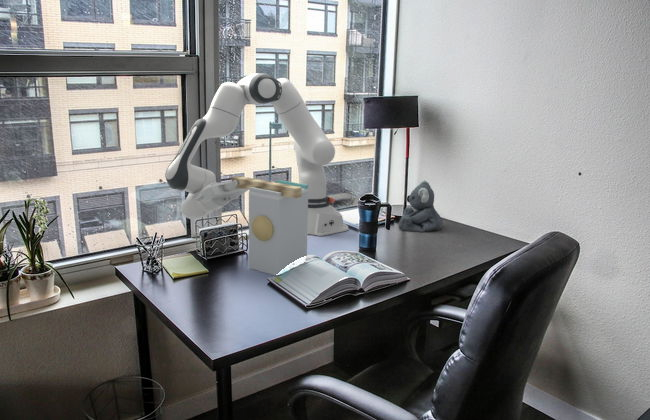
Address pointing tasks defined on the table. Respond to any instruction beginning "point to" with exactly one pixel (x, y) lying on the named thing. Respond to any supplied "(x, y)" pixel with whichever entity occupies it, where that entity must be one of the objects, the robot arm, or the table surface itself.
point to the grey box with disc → (276, 228)
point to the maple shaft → (269, 186)
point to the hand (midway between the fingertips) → (242, 180)
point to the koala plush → (421, 211)
